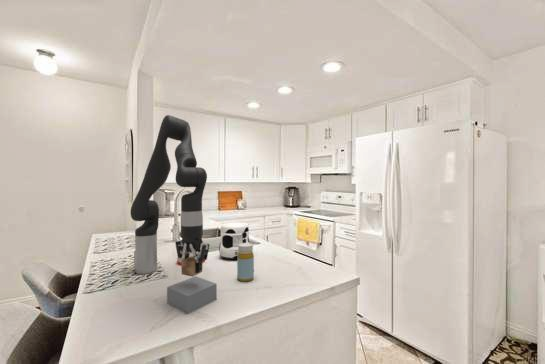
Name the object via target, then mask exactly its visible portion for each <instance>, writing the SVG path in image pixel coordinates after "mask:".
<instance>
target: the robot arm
mask: <svg viewBox="0 0 545 364" xmlns="http://www.w3.org/2000/svg"><path fill="white" fill-rule="evenodd" d="M168 139H171V140H175V141H179V142H180V143H178V145H177V146H176V147H175V150H174V157H175V161H176V166H177V167H176V172H175V182H176V184H177V185H178V187H180V188H194V190H193V191H192V192H190V193H185V194H182V196H181V198H180V204H181V205H180V209H181V210H180V212H181V213H180V238H182V239H180V240H177V241H174V242H175V243H174V244H175V248H176V253H177V258H181V259H182V260H183V259H186V258H188V257H189V255H190V253H192V254H193V257H195V261H196V263H195V271H196V273H199V272H201V271H202V272H203V263H202V261H204V260H205V261H206V260H208V254H209V251H210V244H209V243H205V242H203V239H202V237H203V235H204V222H203V221H204V219H203V218H204V217H203V195H204V192H205V191H204V190H205V187H206V184H207V181H208V173H207V171H206V169H205V168H203V167H199V166H198V161H197V158H196V155H195V152H194V149H193V142H192V131H191V127H190V123H189V122H188V121H186V120H184V119H182V118H179V117H176V116H174V115H169V114H167V115H165V116H164V117H163V118H162V120H161V124H160V127H159V131H158V134H157V138H156V141H155V145H154V148H153V151H152V154H151V157H150V159H149V162H148V165H147V168H146V170H145V173H144V176H143V180H142V181H141V184H140V187H139V190H138V192H137V193H136V196H135V198H134V200H133V202H132V204H131V208H130V217H131V219H132V220H133V221H135V222H143V221H144V222H143V223H142V224H141V225H140V226H139V227H137V228H136V229H135V231H134V237H135V238H134V239H135V240H134V242H135V243H134V247H135V250H134V251H133V271H134V272H135V273H136V274H139V275H143V274H144V275H145V274H151V273H154V272H156V271H157V270H158V229H159V221H160V220H159V219H160V218H159V217H160V209H159V204H158V203H157V201H155V200H153V199H152V200H151V198H152V196H153V195H154V194H156V192H157V191H158V190H160V188H161V187H163V186H164V184H165V183H166V181H167V179H168V177H169V174H170V173H171V172H170V171H171V167H172V165H171V162H170V161H171V160H170V158H169V155H168V150H167V142H168V141H167V140H168ZM180 250H181V252H180ZM196 252H198V253H196ZM181 253H182V254H181ZM198 256H199V258H198ZM202 272H201V273H202ZM199 274H200V273H199Z"/></svg>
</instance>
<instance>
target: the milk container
mask: <svg viewBox="0 0 545 364" xmlns="http://www.w3.org/2000/svg"><path fill="white" fill-rule="evenodd" d="M249 230H250V227H249V224H248V222H241V221H235V222H234V221H233V222H225V223H222V224H221V225H220V241H219V245H218V246H219V247H218V251H219V254H220V257H222V258H224V259H228V260H237V255H238V245H239V244H241V243H250V240H249V239H250V237H249V235H250V231H249Z"/></svg>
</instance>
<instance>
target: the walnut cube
mask: <svg viewBox="0 0 545 364" xmlns="http://www.w3.org/2000/svg"><path fill="white" fill-rule="evenodd" d="M198 258H199V257H198ZM195 263H196V261H195V257H193V256H191V257H188V258H186V259H183V260H181V266H180V267H181V275H184V276H187V277H188V276H189V277H191V278H192V277H195V276H198V275H199V274H201V273H203V270H202V271H201V272H199V273H196V271H195Z"/></svg>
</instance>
